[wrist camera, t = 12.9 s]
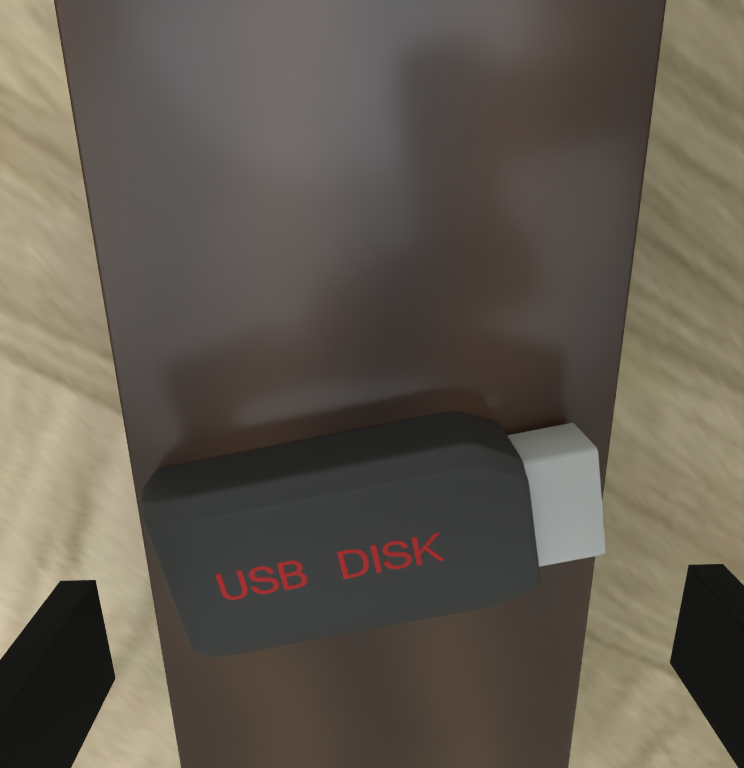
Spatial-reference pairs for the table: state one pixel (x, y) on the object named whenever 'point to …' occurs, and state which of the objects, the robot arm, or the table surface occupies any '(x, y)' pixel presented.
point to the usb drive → (368, 528)
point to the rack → (366, 308)
